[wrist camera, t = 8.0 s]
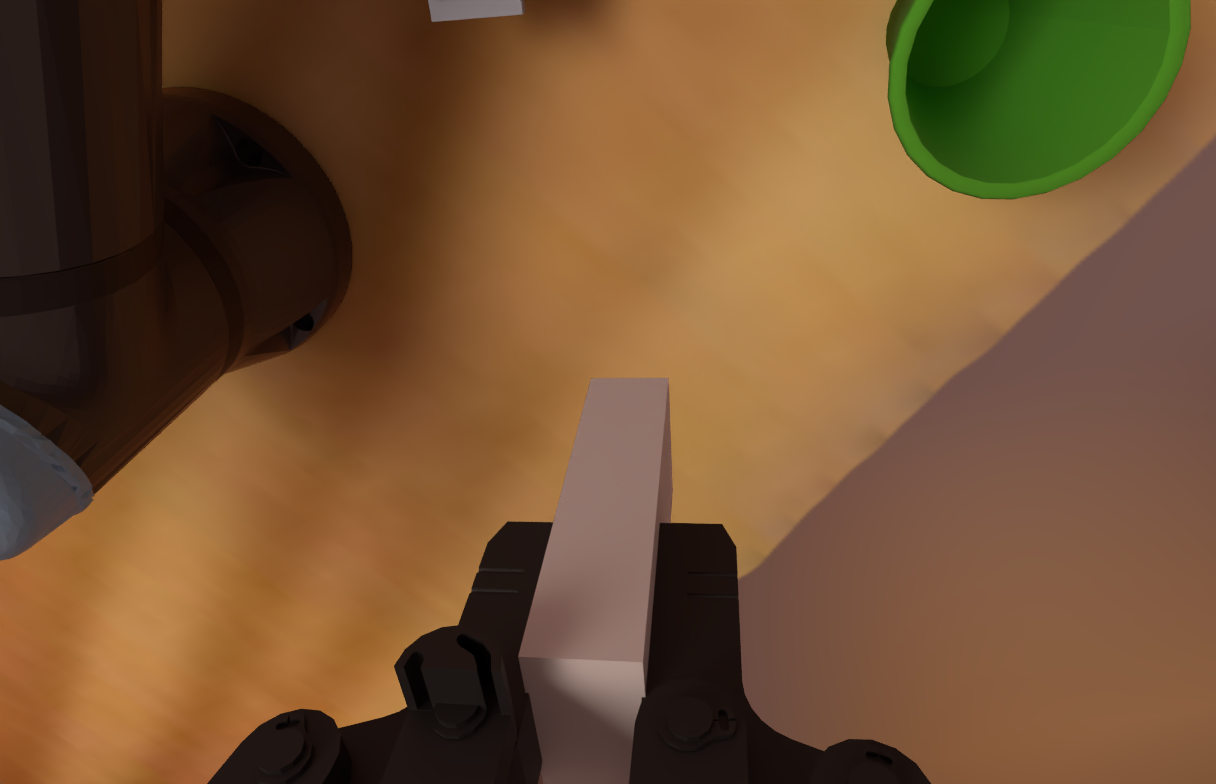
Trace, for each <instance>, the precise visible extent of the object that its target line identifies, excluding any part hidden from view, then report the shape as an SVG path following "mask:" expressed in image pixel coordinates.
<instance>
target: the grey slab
mask: <svg viewBox="0 0 1216 784" xmlns="http://www.w3.org/2000/svg"><path fill="white" fill-rule="evenodd" d="M428 3H429V9H430V14H431V20H432V22H438V21H450V20H462V19H474V18H486V17H499V16H511V15H523V14H524V13H525V5H524V0H428Z"/></svg>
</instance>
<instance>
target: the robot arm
mask: <svg viewBox="0 0 1216 784" xmlns="http://www.w3.org/2000/svg"><path fill="white" fill-rule="evenodd" d="M351 267H352V246H351V238H350V232H349V228H348V223H347V220H346V217H345V213H344V211H343V208H342V205H341V203H340V201H339V198H338V196H337V194H336V192H335V190H334V188H333V186H332V184H331V183H330V181H329V179H328V178H327V176H326V175H325V173H324V172H323V170H322V169H321V167H320V166H319V164H318V163H317V162H316V161H315V159H314V158H313V157H312V155H311V154H310V153H309V152H308V151H307V150H306V149H305V148H304V146H303V145H302V144H301V143H300V142H299V141H298V140H297V139H296V138H295V137H293V136H292V135H291V134H290V133H289V132H288V131H287V130H286V129H284V128H283V127H282V126H281V125H279V124H278V123H277V122H275V121H274V120H273V119H271V118H270V117H268V116H267V115H265V114H264V113H262V112H260V111H259V110H257V109H255V108H253V107H252V106H250V105H248V104H246V103H244V102H241V101H239V100H237V99H235V98H232V97H229V96H227V95H224V94H220V93H217V92H213V91H209V90H204V89H198V88H188V87H172V88H163V89H162V0H0V560H6V559H10V558H13V557H15V556H17V555H19V554H21V553H23V552H24V551H26V550H28V549H29V548H31V547H32V546H33V545H34V544H36V543H37V542H38V541H40V540H41V539H43V538H44V537H45V536H47V535H48V534H49V533H51V532H52V531H53V530H55V529H56V528H57V527H59V526H60V525H61V524H63V523H64V522H65V521H67V520H68V519H69V518H71V517H72V516H73V515H76V514H78V513H80V512H82V511H84V510H85V509H86V508H87V507H88V506H89V505H90V503H91V502H92V501H93V499H92V497H93V496H94V494H95V493H96V492H98V491H99V490H100V489H101V488H102V487H103V486H104V485H105V484H106V483H107V482H108V481H109V480H110V479H111V478H113V477H114V476H115V475H116V474H117V473H118V472H119V471H120V470H121V469H122V468H123V467H124V466H125V465H127V464H128V463H129V462H130V461H131V460H132V459H133V458H134V457H135V456H136V455H137V454H138V453H139V452H141V451H142V450H143V449H144V448H145V447H146V446H147V445H148V444H149V443H150V442H151V441H152V440H153V439H154V438H156V437H157V436H158V435H159V434H160V433H161V432H162V431H163V430H164V429H165V428H166V427H167V426H168V425H170V424H171V423H172V422H173V421H174V420H175V419H176V418H177V417H178V416H179V415H180V414H181V413H182V412H184V411H185V410H186V409H187V408H188V407H189V406H190V405H191V404H192V403H193V402H194V401H195V400H196V399H197V398H199V397H200V396H201V395H202V394H203V393H204V392H205V391H206V390H207V389H208V388H209V387H210V386H211V385H212V384H213V383H214V382H215V381H217V380H218V379H219V378H220V377H221V376H222V375H223V374H226V373H229V372H232V371H235V370H238V369H241V368H244V367H247V366H250V365H253V364H256V363H259V362H262V361H265V360H268V359H271V358H275V357H278V356H280V355H283V354H285V353H287V352H289V351H292V350H293V349H295V348H297V347H298V346H300V345H301V344H303V343H304V342H306V341H307V340H308V339H310V338H311V337H312V336H313V335H314V334H315V333H316V332H317V331H318V330H319V329H320V328H321V327H322V326H323V325H324V324H325V323H326V322H327V321H328V320H329V319H330V317H331V316H332V315H333V314H334V313H335V311H336V310H337V309H338V307H339V305H340V303H341V302H342V300H343V298H344V295H345V293H346V290H347V287H348V284H349V280H350V275H351ZM672 492H673V487H672V459H671V432H670V405H669V378H591V381H590V385H589V388H588V392H587V396H586V400H585V404H584V407H583V411H582V415H581V419H580V423H579V426H578V430H577V434H576V438H575V442H574V446H573V449H572V453H571V457H570V461H569V465H568V468H567V472H566V476H565V480H564V484H563V487H562V491H561V495H560V499H559V503H558V507H557V510H556V514H555V518H554V522H553V523H552V522H507V523H506V524H505V525H504V526H503V527H502V528H501V529H500V530H499V531H498V532H497V534H496V535H495V536H494V537H493V538H492V539H491V540H490V541H489V542H488V544H487V546H486V549H485V552H484V555H483V558H482V560H481V563H480V566H479V573H477V574H476V577H475V580H474V583H473V585H472V592H471V593H470V594H469V596H468V599H467V602H466V605H465V608H464V610H463V613H462V616H461V619H460V621H459V624H458V626H449V627H442V628H439V629H437V630H434V631H432V632H430V633H427V634H425V635H423V636H421V637H420V638H419V639H417V640H416V641H415V642H414V643H412V644H411V645H410V646H409V647H407V648H406V649H405V650H404V652H403V653H402V655H401V656H400V658H399V659H398V661H397V662H396V664H395V665H394V668H395V671H396V674H397V677H398V680H399V683H400V686H401V689H402V692H403V695H404V698H405V701H406V704H407V707H406V708H405V709H403V710H401V711H399V712H397V713H394V714H391V715H388V716H385V717H382V718H378V719H374V720H370V721H366V722H362V723H358V724H354V725H350V726H346V727H342V728H338V727H337V725H336V723H335V721H334V719H332V718H331V717H329V716H328V715H326V714H325V713H323V712H321V711H318V710H308V709H299V710H295V711H291V712H286V713H282V714H279V715H278V716H276V717H274V718H272V719H270V720H269V721H267V722H265V723H263V724H261V725H260V726H259V727H257V728H256V729H255V730H254V731H253V732H252V733H251V734H250V735H249V736H248V737H247V738H246V739H245V740H244V741H242V743H241V744H240V745H239V746H238V747H237V749H236V750H235V751H234V752H233V753H232V755H231V756H230V757H229V758H228V759H227V761H226V762H225V763H224V764H223V765H222V767H221V768H220V769H219V770H218V771H217V773H216V774H215V775H214V776H213V777H212V779H211V780H210V781H209V782H208V783H207V784H538V780H539V776H540V771H541V772H542V777H543V782H544V784H931V783H930V782H929V780H928V779H927V778H926V776H925V775H924V774H923V772H922V771H921V769H920V768H919V767H918V766H917V764H916V763H915V762H913V761H912V760H911V759H909V758H908V757H906V756H905V755H904V754H902V753H901V752H900V751H898V750H897V749H896V748H893V747H890V746H888V745H885V744H882V743H879V742H876V741H874V740H861V739H860V740H859V739H848V740H845V741H843V742H840V743H837V744H835V745H832V746H830V747H828V748H827V749H826V750H825V751H822V750H819V749H816V748H814V747H811V746H808V745H806V744H803V743H800V742H797V741H795V740H792V739H790V738H788V737H786V736H784V735H782V734H780V733H778V732H776V731H774V730H773V729H772V728H771V727H769V726H768V725H767V724H766V723H764V722H763V721H762V720H761V719H760V718H759V717H758V715H757V714H756V713H755V712H754V711H753V710H752V708H751V706H750V704H749V702H748V700H747V698H746V696H745V694H744V688H743V683H742V670H741V646H740V623H739V601H738V579H737V554H736V546H735V544H734V543H733V541H732V540H731V538H730V536H729V535H728V533H727V531H726V530H725V528H724V527H723V525H722V524H692V523H670V522H671V507H672Z"/></svg>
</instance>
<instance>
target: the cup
mask: <svg viewBox="0 0 1216 784" xmlns="http://www.w3.org/2000/svg"><path fill="white" fill-rule="evenodd" d="M1190 28H1191V16H1190V0H897V2H896V4H895V6H894V8H893V9H892V11H891V14H890V18H889V22H888V25H887V33H886V46H887V52H888V57H889V61H890V64H889V82H888V101H889V106H890V112H891V117H892V122H893V127H894V130H895V132H896V134H897V136H898V138H899V140H900V142H901V144H902V146H903V148H904V150H905V152H906V154H907V155H908V156H909V157H910V159H911V160H912V161H913V162H914V163H915V164H916V165H917V166H918V167H919V168H920V169H921V170H922V171H923V172H924V173H925V175H926V176H928V177H929V178H931V179H933V180H934V181H936V182H938V183H940V184H941V185H943V186H945V187H946V188H948V189H950V190H952V191H955V192H958V193H962V194H966V195H969V196H973V197H977V198H981V199H1017V198H1022V197H1027V196H1032V195H1037V194H1042V193H1047V192H1049V191H1052V190H1054V189H1057V188H1059V187H1061V186H1064V185H1066V184H1069V183H1071V182H1074V181H1076V180H1078V179H1081V178H1083V177H1084V176H1086V175H1087V174H1089V173H1090V172H1092V171H1093V170H1095V169H1097V168H1098V167H1100V166H1101V165H1103V164H1104V163H1106V162H1107V161H1109V160H1110V159H1112V158H1113V157H1115V156H1116V155H1117V154H1118V153H1119V152H1120V151H1121V150H1122V149H1123V148H1124V147H1125V146H1126V145H1127V144H1128V143H1130V142H1131V141H1132V140H1133V139H1134V138H1135V137H1136V136H1137V135H1138V134H1139V133H1140V132H1141V131H1142V130H1143V129H1144V127H1145V126H1146V125H1147V123H1148V122H1149V121H1150V119H1151V118H1152V117H1153V115H1154V114H1155V113H1156V111H1157V110H1158V108H1159V107H1160V106H1161V104H1162V103H1163V102H1164V100H1165V99H1166V97H1167V95H1168V92H1169V90H1170V88H1171V86H1172V84H1173V82H1174V80H1175V78H1176V76H1177V74H1178V72H1179V70H1180V67H1181V65H1182V62H1183V58H1184V54H1185V49H1186V45H1187V41H1188V37H1189V33H1190Z"/></svg>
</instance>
